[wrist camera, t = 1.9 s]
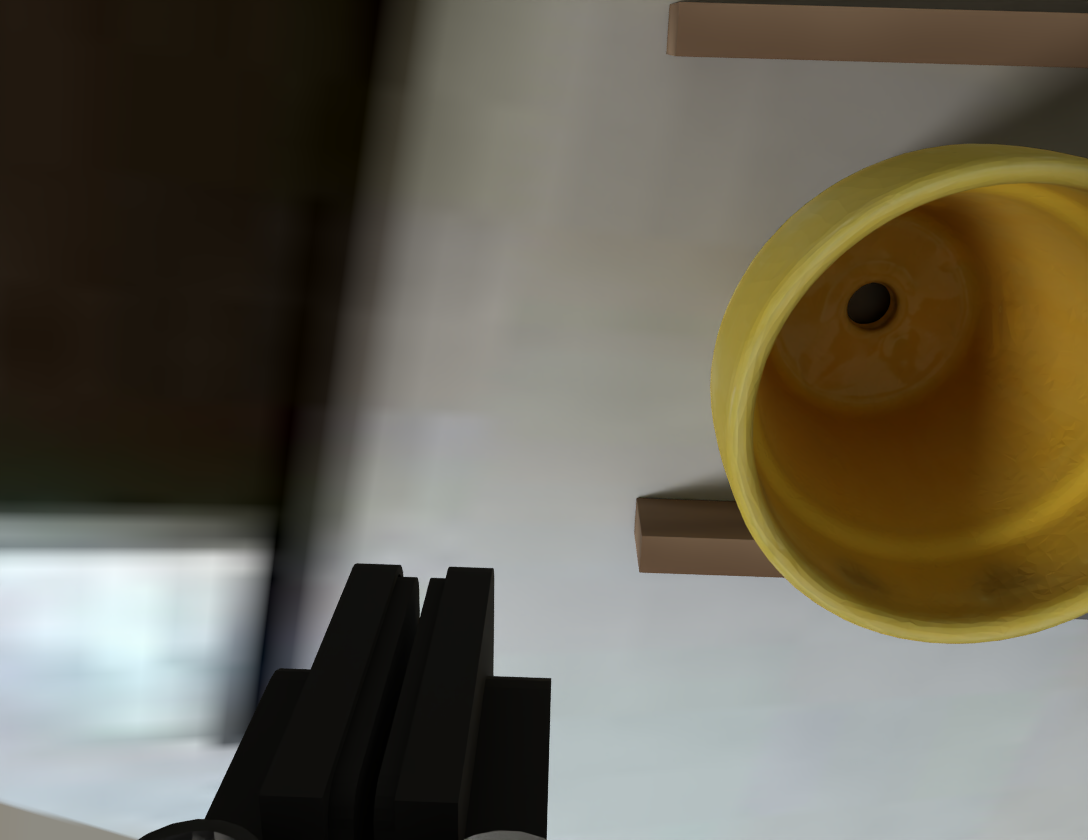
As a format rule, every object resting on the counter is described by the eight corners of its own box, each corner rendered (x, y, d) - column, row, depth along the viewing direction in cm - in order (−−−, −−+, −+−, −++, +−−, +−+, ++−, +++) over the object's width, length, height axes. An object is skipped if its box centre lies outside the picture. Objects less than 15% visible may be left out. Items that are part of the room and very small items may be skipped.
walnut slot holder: (669, 4, 26) (679, 2, 23) (1135, 17, 26) (1192, 16, 23) (634, 532, 31) (639, 572, 29) (1015, 545, 31) (1051, 586, 29)
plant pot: (772, 53, 26) (880, 65, 17) (1116, 194, 27) (1390, 276, 18) (623, 398, 30) (647, 560, 21) (932, 509, 31) (1083, 710, 22)
